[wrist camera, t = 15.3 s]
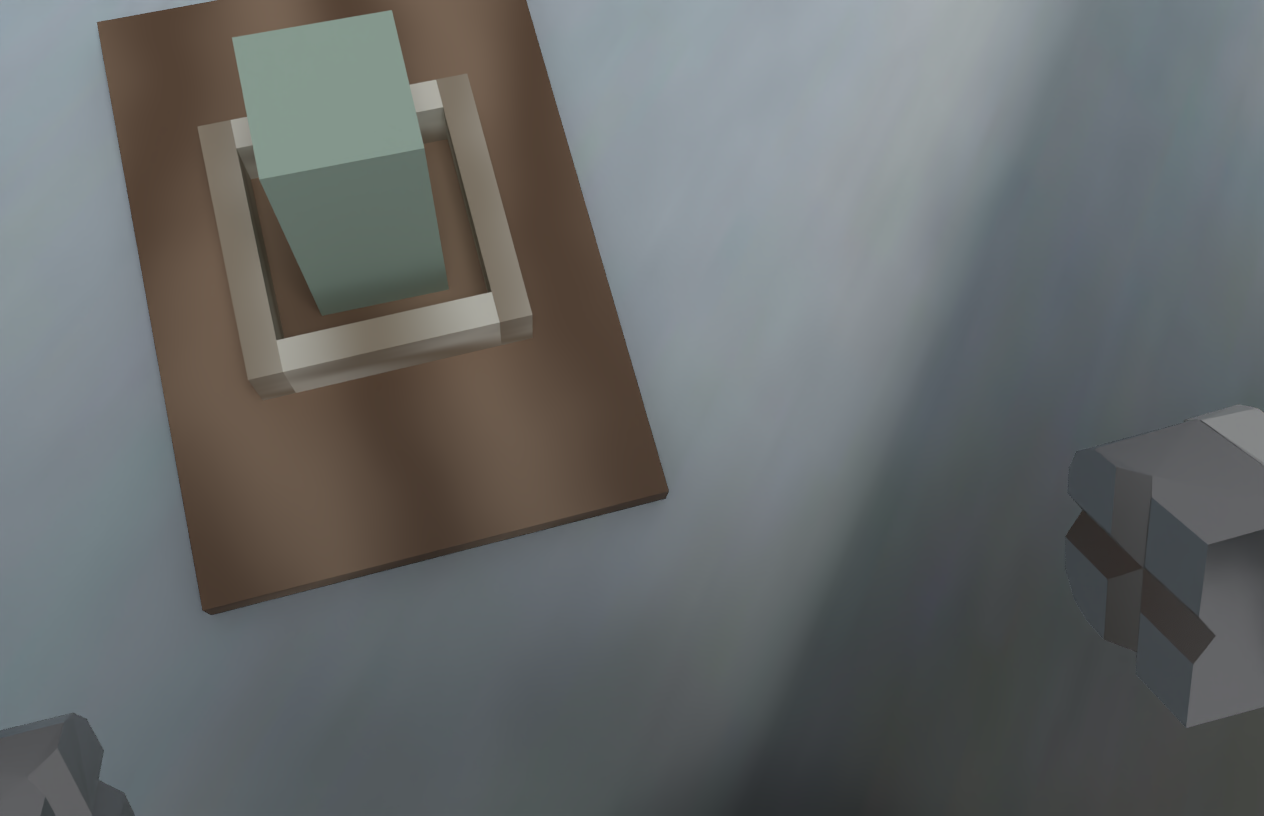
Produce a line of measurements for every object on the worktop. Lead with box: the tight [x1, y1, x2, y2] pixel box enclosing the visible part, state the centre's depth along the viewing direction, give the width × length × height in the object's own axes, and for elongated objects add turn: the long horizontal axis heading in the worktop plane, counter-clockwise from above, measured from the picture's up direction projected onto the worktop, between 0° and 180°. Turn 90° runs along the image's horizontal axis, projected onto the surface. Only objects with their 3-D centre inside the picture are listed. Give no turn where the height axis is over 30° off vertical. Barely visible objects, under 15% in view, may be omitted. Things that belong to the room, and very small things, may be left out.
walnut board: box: [97, 0, 669, 615], centre depth 38 cm, size 14×20×3 cm
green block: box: [232, 10, 449, 316], centre depth 34 cm, size 4×4×9 cm
